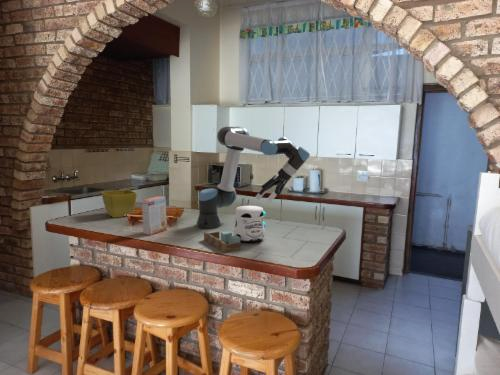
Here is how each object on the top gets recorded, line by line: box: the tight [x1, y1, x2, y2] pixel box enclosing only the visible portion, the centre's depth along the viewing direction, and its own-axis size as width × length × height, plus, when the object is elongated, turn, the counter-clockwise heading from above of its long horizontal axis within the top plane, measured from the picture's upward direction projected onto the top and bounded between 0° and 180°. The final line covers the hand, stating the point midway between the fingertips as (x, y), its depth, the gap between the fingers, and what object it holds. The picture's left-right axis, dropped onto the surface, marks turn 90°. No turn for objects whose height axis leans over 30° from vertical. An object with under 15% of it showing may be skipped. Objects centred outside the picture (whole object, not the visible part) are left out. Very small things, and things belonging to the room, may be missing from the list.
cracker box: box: [141, 195, 168, 236], centre depth 211 cm, size 14×6×21 cm, turn 149°
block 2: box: [228, 235, 241, 244], centre depth 191 cm, size 4×4×4 cm
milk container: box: [233, 205, 266, 243], centre depth 199 cm, size 17×17×18 cm
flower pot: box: [101, 189, 138, 219], centre depth 252 cm, size 19×19×17 cm
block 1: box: [220, 230, 233, 243], centre depth 198 cm, size 4×4×4 cm
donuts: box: [263, 210, 267, 228], centre depth 228 cm, size 10×10×10 cm
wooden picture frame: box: [203, 231, 241, 253], centre depth 191 cm, size 24×9×4 cm, turn 33°
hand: (262, 200), depth 200 cm, fingers open, 13 cm apart
